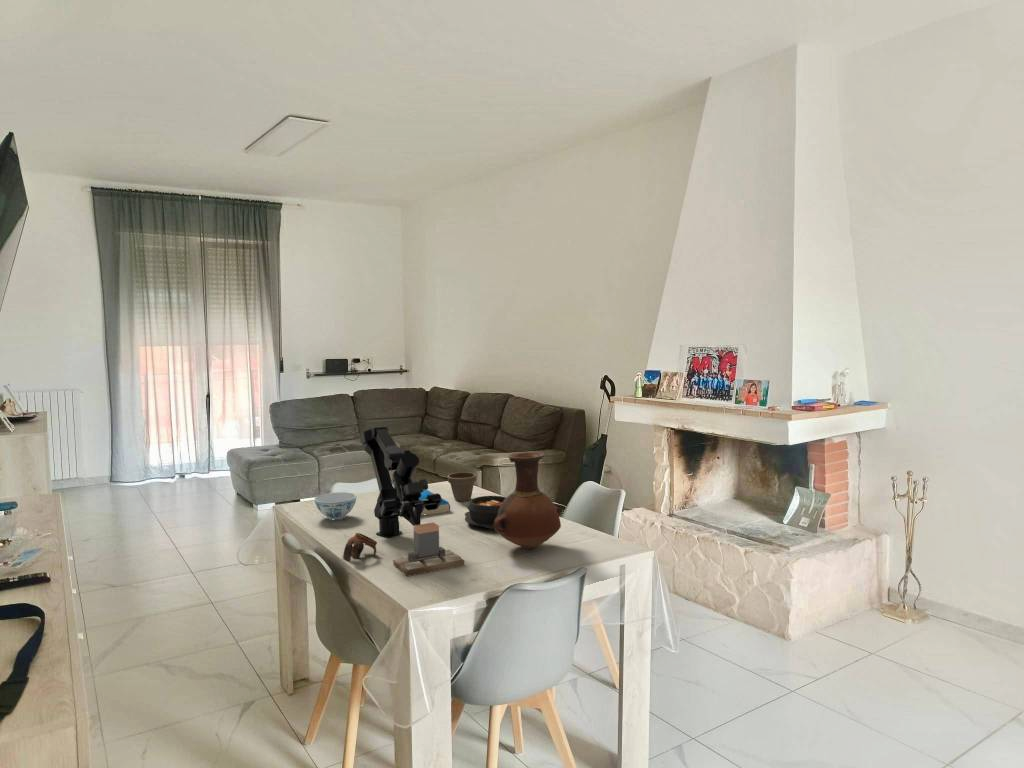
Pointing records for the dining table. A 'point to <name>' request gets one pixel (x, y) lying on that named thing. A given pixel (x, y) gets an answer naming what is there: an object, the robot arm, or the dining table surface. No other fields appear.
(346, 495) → the chinaware
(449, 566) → the brown rectangular slab
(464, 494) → the flower pot
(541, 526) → the vase
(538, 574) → the dining table surface
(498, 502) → the casserole
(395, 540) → the dining table surface
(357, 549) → the brown curved piece
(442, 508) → the book
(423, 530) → the grey block
